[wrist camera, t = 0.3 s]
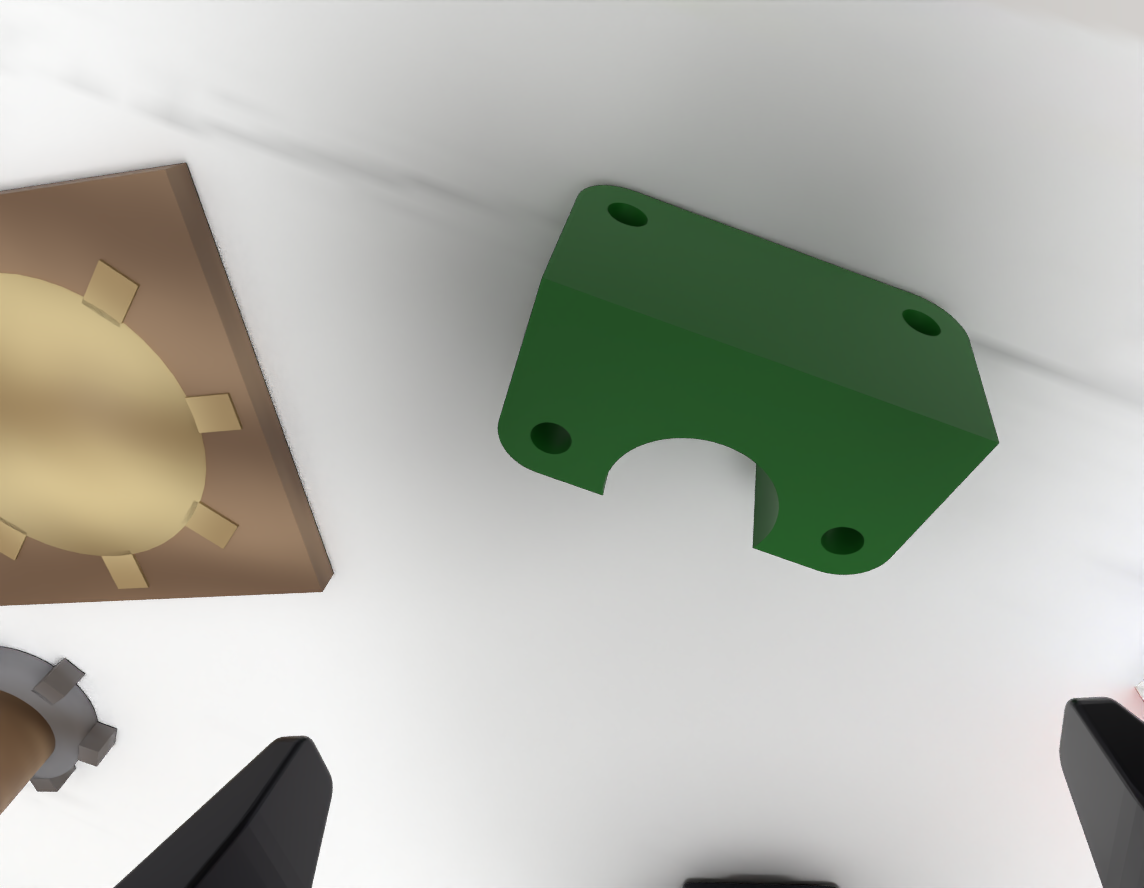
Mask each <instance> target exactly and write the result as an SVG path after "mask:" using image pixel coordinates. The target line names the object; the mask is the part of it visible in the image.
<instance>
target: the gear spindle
mask: <svg viewBox="0 0 1144 888" xmlns="http://www.w3.org/2000/svg"><path fill="white" fill-rule="evenodd" d="M84 675H85V674H84V673H82V672H81V671H80V670H79V669H77V668H76V667H75V666H73V665H72V664H71V663H70V662H68V661H67V660H66V659H64V660H62V661H61V662H60V663H58V664H57V665H56V666H54V667H53V666H51V665H50V664H48V663H47V662H45V661H43V660H41V659H39V658H37V657H34V656H32V655H29V654H27V653H24V652H21V651H18V650H14V649H9V648H4V647H0V815H1V813H2V812H3V811H4V810H5V809H6V808H7V806H8V805H9V804H10V803H11V802H12V800H13V799H14V798H15V797H16V796H17V795H18V793H19V792H20V791H21V790H22V789H23V787H24V786H25V785H26V784H27V783H28V782H29V780H30V781H31V783H32V784H33V786H34V787H35V788H36V790H37V791H40V792H57V791H58V790H59V789H60V788H61V786H62V785H63V784H64V783H65V781H66V780H67V779H68V778H69V776H70V775H71V774H72V773H73V771H74V770H75V769H76V768H75V766H74V765H75V764H76V762H77V761H78V760H80V761H82V762H85V763H88V764H91V765H94V766H96V767H97V766H98V764H99V763H100V762H101V761H102V759H103V758H104V757H105V755H106V754H107V753H108V752H109V750H110V749H111V748H112V746H113V745H114V744H115V737H116V730H117V729H115V728H112V727H109V726H107V725H104V724H101V723H98V722H97V717H96V714H95V711H94V709H93V707H92V705H91V703H90V701H89V700H88V698H87V697H86V695H85V694H84V693H83V692H82V691H81V689H80V688H79V687H78V686H77V685H76V684H77V682H78V681H79V680H80V679H81V678H82V677H83V676H84Z"/></svg>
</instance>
